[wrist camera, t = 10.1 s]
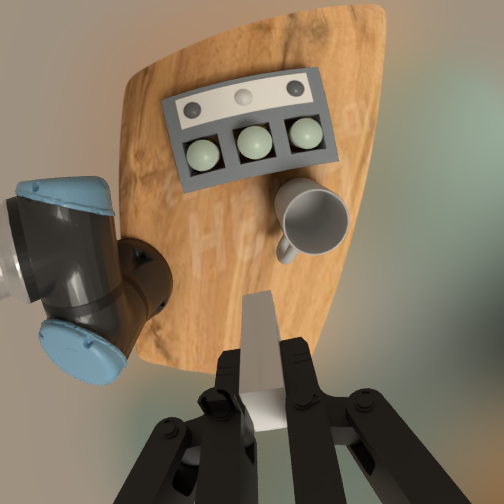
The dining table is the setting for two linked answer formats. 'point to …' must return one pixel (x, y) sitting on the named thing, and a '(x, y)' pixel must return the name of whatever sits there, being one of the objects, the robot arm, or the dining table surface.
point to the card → (243, 99)
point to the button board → (239, 122)
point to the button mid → (254, 142)
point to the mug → (309, 219)
